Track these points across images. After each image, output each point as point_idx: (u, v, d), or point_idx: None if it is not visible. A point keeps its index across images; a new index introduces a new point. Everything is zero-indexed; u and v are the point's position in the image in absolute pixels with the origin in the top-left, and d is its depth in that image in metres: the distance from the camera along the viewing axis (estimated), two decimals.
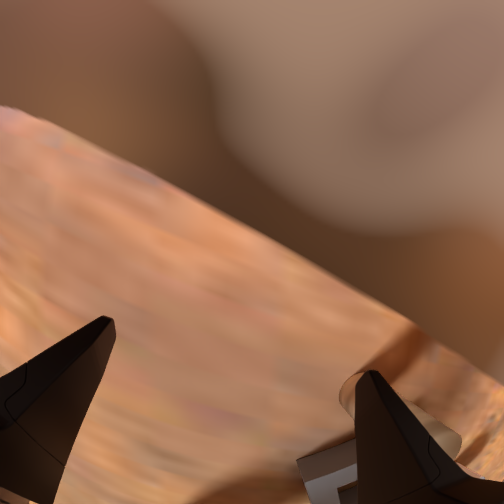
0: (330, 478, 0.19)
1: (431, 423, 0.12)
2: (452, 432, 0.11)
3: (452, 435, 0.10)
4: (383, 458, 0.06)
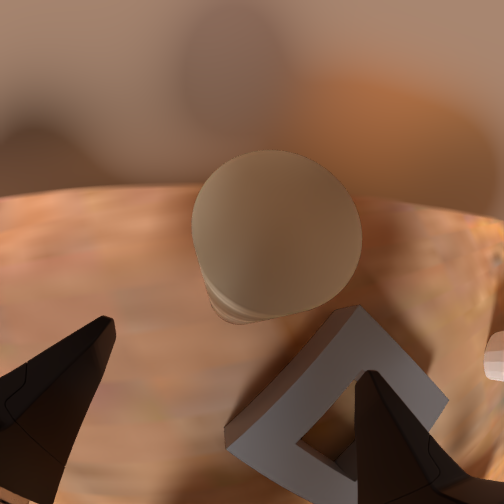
0: (264, 429, 0.14)
1: None
2: None
3: (261, 154, 0.07)
4: (383, 458, 0.06)
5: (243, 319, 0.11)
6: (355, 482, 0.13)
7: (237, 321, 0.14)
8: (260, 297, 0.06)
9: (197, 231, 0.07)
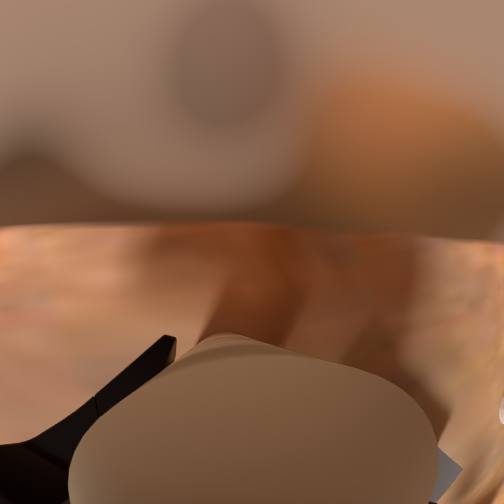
0: None
1: (179, 361, 0.04)
2: (224, 363, 0.02)
3: (215, 382, 0.02)
4: None
5: None
6: None
7: None
8: None
9: None
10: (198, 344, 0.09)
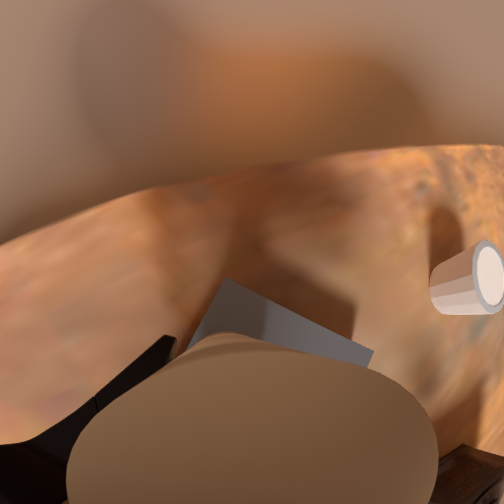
0: None
1: (178, 359, 0.04)
2: (222, 359, 0.02)
3: (213, 378, 0.02)
4: None
5: None
6: None
7: None
8: None
9: None
10: (198, 343, 0.09)
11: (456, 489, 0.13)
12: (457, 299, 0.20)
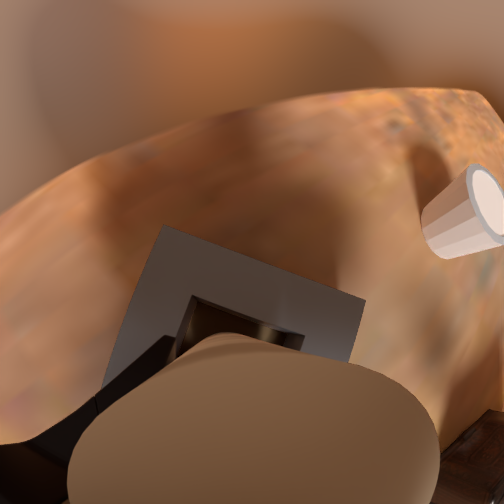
0: None
1: (179, 359, 0.04)
2: (224, 360, 0.02)
3: (215, 379, 0.02)
4: None
5: None
6: None
7: None
8: None
9: None
10: None
11: (492, 462, 0.10)
12: (457, 233, 0.17)
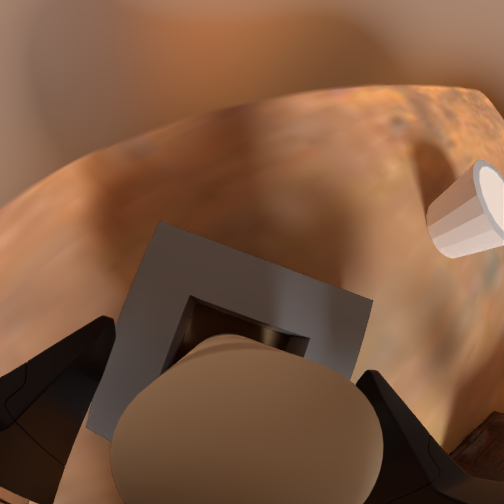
0: (107, 397, 0.11)
1: (189, 355, 0.05)
2: (222, 354, 0.04)
3: (217, 365, 0.04)
4: (383, 458, 0.06)
5: None
6: None
7: None
8: None
9: (123, 489, 0.03)
10: (201, 343, 0.10)
11: (498, 465, 0.09)
12: (464, 231, 0.16)
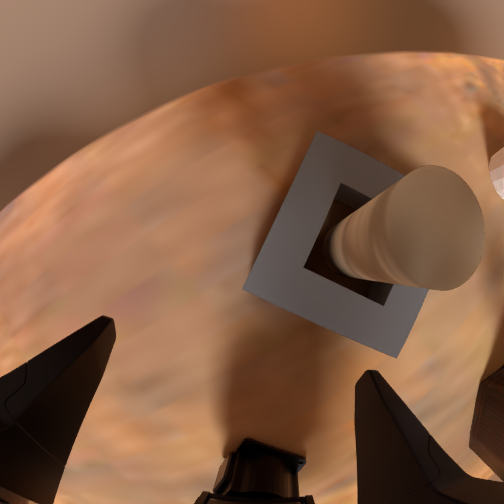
0: (269, 258, 0.18)
1: None
2: None
3: (432, 168, 0.08)
4: (383, 458, 0.06)
5: (379, 280, 0.13)
6: (384, 306, 0.17)
7: (360, 278, 0.16)
8: (429, 278, 0.08)
9: (395, 227, 0.08)
10: None
11: None
12: None
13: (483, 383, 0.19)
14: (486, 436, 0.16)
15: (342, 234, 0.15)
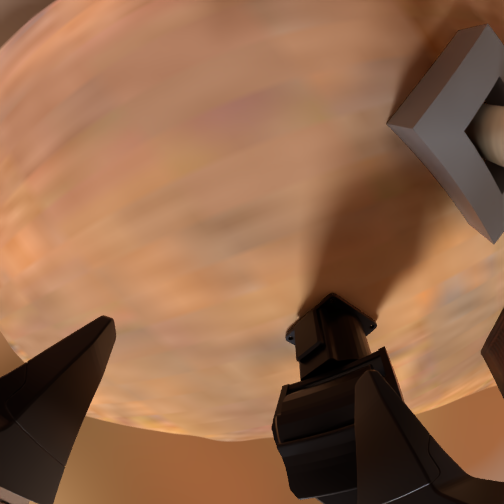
0: (441, 109, 0.12)
1: None
2: None
3: None
4: (383, 458, 0.06)
5: None
6: (501, 195, 0.14)
7: None
8: None
9: None
10: None
11: None
12: None
13: None
14: (501, 348, 0.22)
15: None
